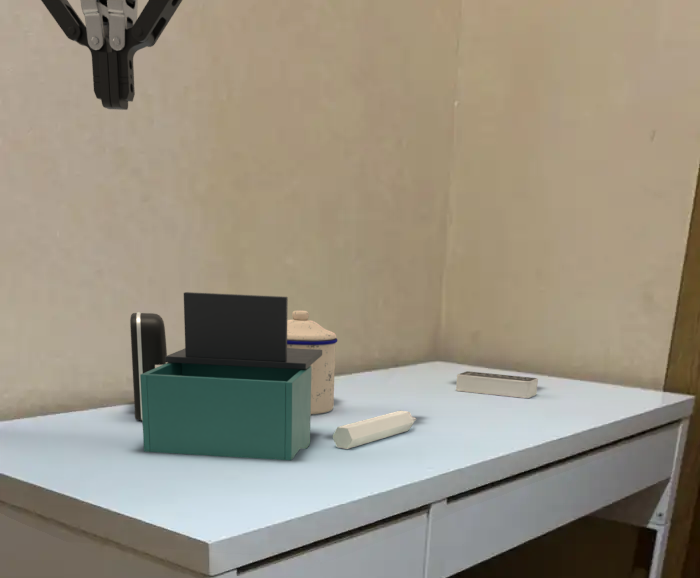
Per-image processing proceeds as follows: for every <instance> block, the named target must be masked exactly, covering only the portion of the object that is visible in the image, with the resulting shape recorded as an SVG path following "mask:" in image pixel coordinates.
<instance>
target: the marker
mask: <svg viewBox="0 0 700 578" xmlns="http://www.w3.org/2000/svg"><path fill="white" fill-rule="evenodd" d="M416 420H417V417H414V416H412V414H411V412H410V411H405V410H397V411H394V412H389V413H386V414H382V415H378V416H374V417H370V418H367V419H363V420H358V421H355V422H351V423H347V424H343V425H339V426H337V427H336V428H335V430H334V433H333V434H332V440H333V442H334V444H335V447H336V448H339V449H344V450H348V449H352V448H356V447H359V446H362V445H366V444H370V443H373V442H376V441H379V440H382V439H385V438H389V437H392V436H396V435H399V434H402V433H406V432H409V431H410V429H411V427H412V426H413V424H414V423H415V421H416Z"/></svg>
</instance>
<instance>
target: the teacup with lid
mask: <svg viewBox="0 0 700 578" xmlns="http://www.w3.org/2000/svg"><path fill="white" fill-rule="evenodd" d="M309 317H310V313H309V312H308V311H307V310H293V311H292V313H291V318H292V319H287V348H296V349H316V350H322V356H321V357H320V358H318V359H317V360H316V361H315V362H314V363H313V364H311V365H310V366H312V369H311V415H321V414H326V413H328V412H331V411H332V410H333V409H334V403H335V402H334V401H335V374H336V373H335V371H336V369H335V367H336V343H337V342H338V338H337V334H336V333H335V332H333V331H331V330H328V329H327V328H324V327H323V326H322V325H321V324H319V323H318V322H316V321H314V320H311V319H309Z"/></svg>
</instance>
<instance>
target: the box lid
mask: <svg viewBox="0 0 700 578" xmlns="http://www.w3.org/2000/svg"><path fill="white" fill-rule="evenodd" d="M288 299H289V298H288V296H278V295H277V296H276V295H258V294H257V295H255V294H236V293H235V294H234V293H211V292H191V291H190V292H189V291H187V292H183V315H184V316H183V322H184V323H183V324H184V348H182V349H180V350H177V351H175V352H172V353H169V354H167V356H165V361H166V363H187V364H206V365H225V366H244V367H263V368H283V369H302V370H306V369H307V368H308V367H309V366H310V365H311V364H313V363H314V362H315V361H316V360H317V359H318V358H320V357H321V356H322V350H316V349H296V348H287V320H288Z"/></svg>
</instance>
